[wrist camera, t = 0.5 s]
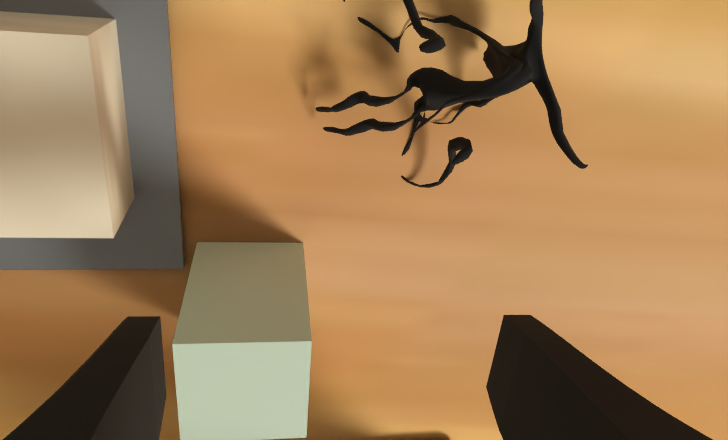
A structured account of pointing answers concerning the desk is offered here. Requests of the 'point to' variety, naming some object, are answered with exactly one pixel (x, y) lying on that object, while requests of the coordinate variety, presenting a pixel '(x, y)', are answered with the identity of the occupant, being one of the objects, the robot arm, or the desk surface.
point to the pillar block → (244, 343)
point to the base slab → (62, 128)
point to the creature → (465, 84)
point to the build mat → (146, 143)
